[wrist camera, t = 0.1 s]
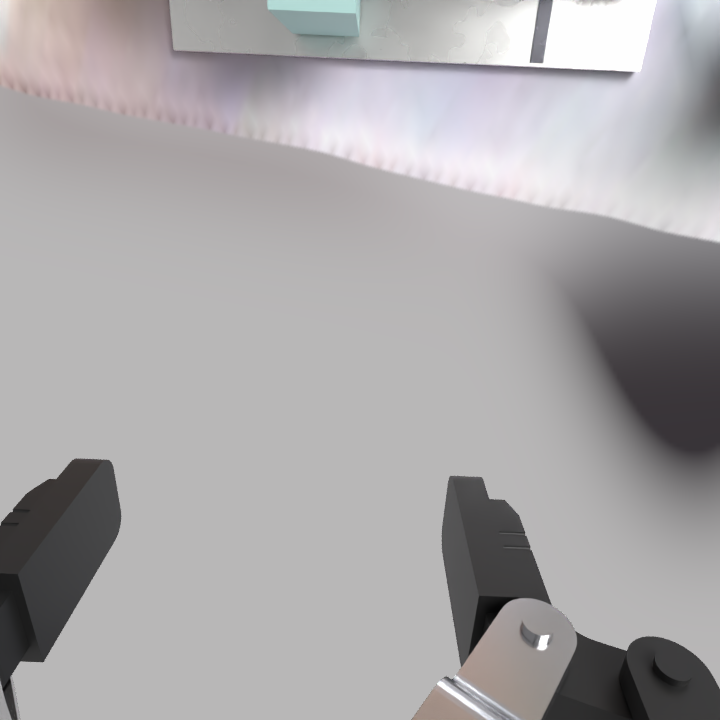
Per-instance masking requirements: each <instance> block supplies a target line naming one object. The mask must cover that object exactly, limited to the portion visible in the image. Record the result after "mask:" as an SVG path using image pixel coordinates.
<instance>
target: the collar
mask: <svg viewBox="0 0 720 720" xmlns="http://www.w3.org/2000/svg"><path fill="white" fill-rule="evenodd" d="M360 3H361V0H267V6H268V10H269V11H270V12H271V13H272V14H273V15H274V16H275V17H276V18H277V19H278V20H279V21H280V22H281V23H282V24H283V25H284V26H285V27H286V28H287V29H288V30H289V31H290V32H292V33H293V34H311V35H333V36H354V37H359V31H360Z"/></svg>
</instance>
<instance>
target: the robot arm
mask: <svg viewBox="0 0 720 720" xmlns="http://www.w3.org/2000/svg"><path fill="white" fill-rule="evenodd" d="M120 522H121V510H120V503H119V498H118V492H117V486H116V481H115V475H114V469H113V465H112V463H111V462H110V461H109V460H97V459H74V460H72V461H71V462H70V464H69V465H68V466H67V467H66V468H65V470H64V471H63V472H62V473H61V474H60V475H59V477H58V478H57V479H49V480H47V481H45V482H44V483H42V484H40V485H39V486H37V487H36V488H34V489H33V490H31V491H30V492H28V493H27V494H26V495H25V496H24V497H23V498H22V500H21V501H20V502H19V503H18V504H17V505H16V506H15V507H14V509H13V512H10V513H9V514H8V515H7V517H6V518H5V519H4V520H3V521H2V522H1V526H0V720H20V714H19V709H18V703H17V698H16V692H15V687H14V682H13V679H12V676H11V675H12V673H13V672H14V670H15V669H16V667H17V665H18V664H19V662H20V661H26V662H44V660H45V658H46V657H47V655H48V653H49V652H50V650H51V648H52V647H53V645H54V643H55V641H56V640H57V638H58V636H59V635H60V633H61V631H62V629H63V628H64V626H65V624H66V623H67V621H68V619H69V618H70V616H71V614H72V613H73V611H74V609H75V607H76V606H77V604H78V602H79V601H80V599H81V597H82V596H83V594H84V592H85V590H86V589H87V587H88V585H89V584H90V582H91V580H92V579H93V577H94V575H95V573H96V572H97V569H98V568H99V567H100V565H101V563H102V561H103V560H104V558H105V556H106V554H107V553H108V551H109V550H110V548H111V546H112V545H113V543H114V541H115V539H116V537H117V535H118V532H119V528H120ZM442 552H443V559H444V565H445V571H446V577H447V584H448V590H449V596H450V602H451V608H452V614H453V620H454V626H455V632H456V639H457V645H458V651H459V657H460V663H461V669H460V670H459V672H458V673H457V674H456V676H455V677H454V678H453V679H452V680H451V679H450V678H448V677H444V678H442V679H441V680H440V681H439V682H438V683H437V685H436V686H435V687H434V689H433V690H432V691H431V693H430V694H429V696H428V697H427V698H426V700H425V701H424V703H423V704H422V705H421V707H420V708H419V710H418V711H417V713H416V714H415V716H414V717H413V718H412V720H720V689H719V687H718V685H717V683H716V681H715V679H714V678H713V676H712V674H711V673H710V671H709V669H708V668H707V667H706V666H705V664H704V663H703V662H702V661H701V660H700V659H699V658H698V657H697V656H695V655H694V654H693V653H692V652H690V651H689V650H687V649H686V648H684V647H683V646H681V645H679V644H677V643H675V642H672V641H670V640H667V639H664V638H659V637H642V638H639V639H636V640H635V641H633V642H632V643H631V644H630V645H629V647H628V650H627V651H625V650H622V649H619V648H616V647H612V646H609V645H606V644H603V643H600V642H597V641H594V640H591V639H589V638H587V637H585V636H583V635H581V634H579V633H577V632H576V631H575V629H574V627H573V625H572V624H571V622H570V621H569V620H568V618H567V617H566V616H565V615H564V614H563V613H562V612H561V611H559V610H558V609H557V608H555V607H553V606H552V605H551V602H550V599H549V597H548V594H547V591H546V589H545V586H544V583H543V580H542V578H541V575H540V572H539V569H538V567H537V564H536V561H535V558H534V556H533V553H532V551H531V550H530V545H529V542H528V539H527V537H526V536H525V531H524V528H523V526H522V523H521V520H520V517H519V515H518V514H517V513H516V512H515V511H514V510H513V509H512V507H511V506H509V504H508V503H507V502H506V501H505V500H493V499H489V497H488V494H487V491H486V488H485V484H484V481H483V479H482V478H481V477H465V476H450V478H449V481H448V488H447V495H446V503H445V511H444V518H443V526H442Z"/></svg>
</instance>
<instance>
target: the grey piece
mask: <svg viewBox="0 0 720 720" xmlns="http://www.w3.org/2000/svg"><path fill="white" fill-rule="evenodd" d="M655 3H656V0H361V3H360V31H359V37H354V36H333V35H311V34H293V33H292V32H290V31H289V30H288V29H287V28H286V27H285V26H284V25H283V24H282V23H281V22H280V21H279V20H278V19H277V18H276V17H275V16H274V15H273V14H272V13H271V12H270V11H269V10H268V6H267V0H169V5H170V17H171V29H172V40H173V50H175V51H186V52H208V53H230V54H251V55H273V56H294V57H316V58H337V59H359V60H381V61H402V62H424V63H445V64H467V65H489V66H510V67H532V68H553V69H575V70H597V71H618V72H640V70H641V66H642V61H643V57H644V53H645V48H646V44H647V39H648V35H649V30H650V26H651V21H652V17H653V12H654V8H655Z"/></svg>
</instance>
